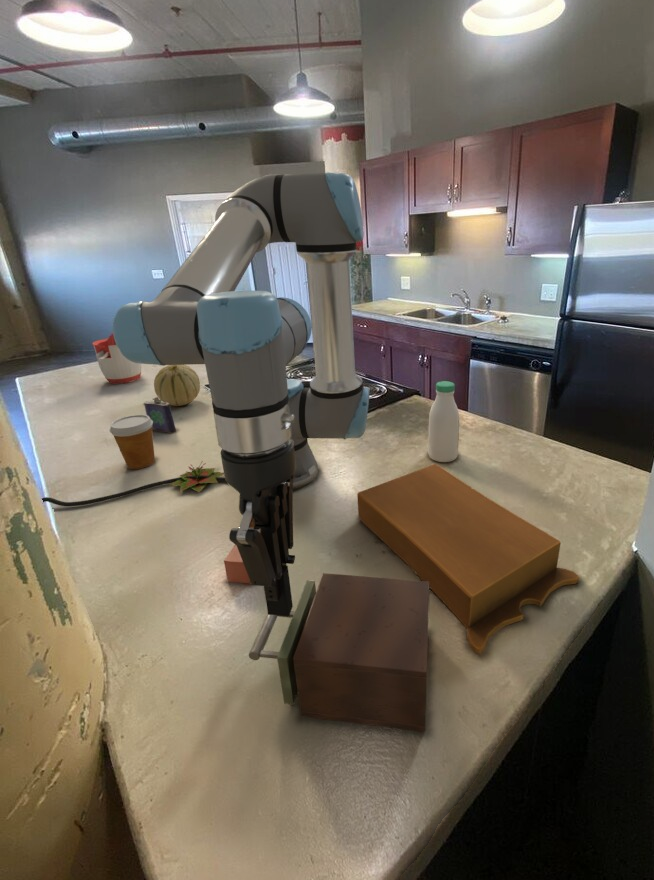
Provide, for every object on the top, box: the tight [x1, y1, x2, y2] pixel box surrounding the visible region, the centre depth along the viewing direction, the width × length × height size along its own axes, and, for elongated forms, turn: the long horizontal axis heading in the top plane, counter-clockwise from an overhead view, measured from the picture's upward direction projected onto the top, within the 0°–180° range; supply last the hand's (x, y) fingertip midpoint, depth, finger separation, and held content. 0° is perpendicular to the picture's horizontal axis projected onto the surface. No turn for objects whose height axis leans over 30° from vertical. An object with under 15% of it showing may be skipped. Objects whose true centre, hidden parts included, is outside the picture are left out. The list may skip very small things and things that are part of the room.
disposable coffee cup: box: [109, 414, 156, 470], centre depth 106 cm, size 10×10×12 cm
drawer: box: [248, 580, 317, 706], centre depth 54 cm, size 18×12×8 cm, turn 83°
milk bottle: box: [427, 380, 460, 463], centre depth 105 cm, size 8×8×20 cm
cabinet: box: [293, 572, 430, 732], centre depth 53 cm, size 15×13×10 cm
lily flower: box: [170, 460, 224, 493], centre depth 99 cm, size 12×12×5 cm
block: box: [223, 544, 252, 585], centre depth 71 cm, size 4×4×4 cm
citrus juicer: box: [92, 333, 142, 384], centre depth 172 cm, size 16×17×20 cm
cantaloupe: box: [153, 365, 201, 407], centre depth 145 cm, size 15×15×15 cm
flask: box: [143, 396, 177, 434], centre depth 126 cm, size 9×3×11 cm, turn 71°
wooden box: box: [356, 463, 580, 654], centre depth 75 cm, size 23×6×35 cm
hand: (280, 610), depth 52 cm, fingers closed
